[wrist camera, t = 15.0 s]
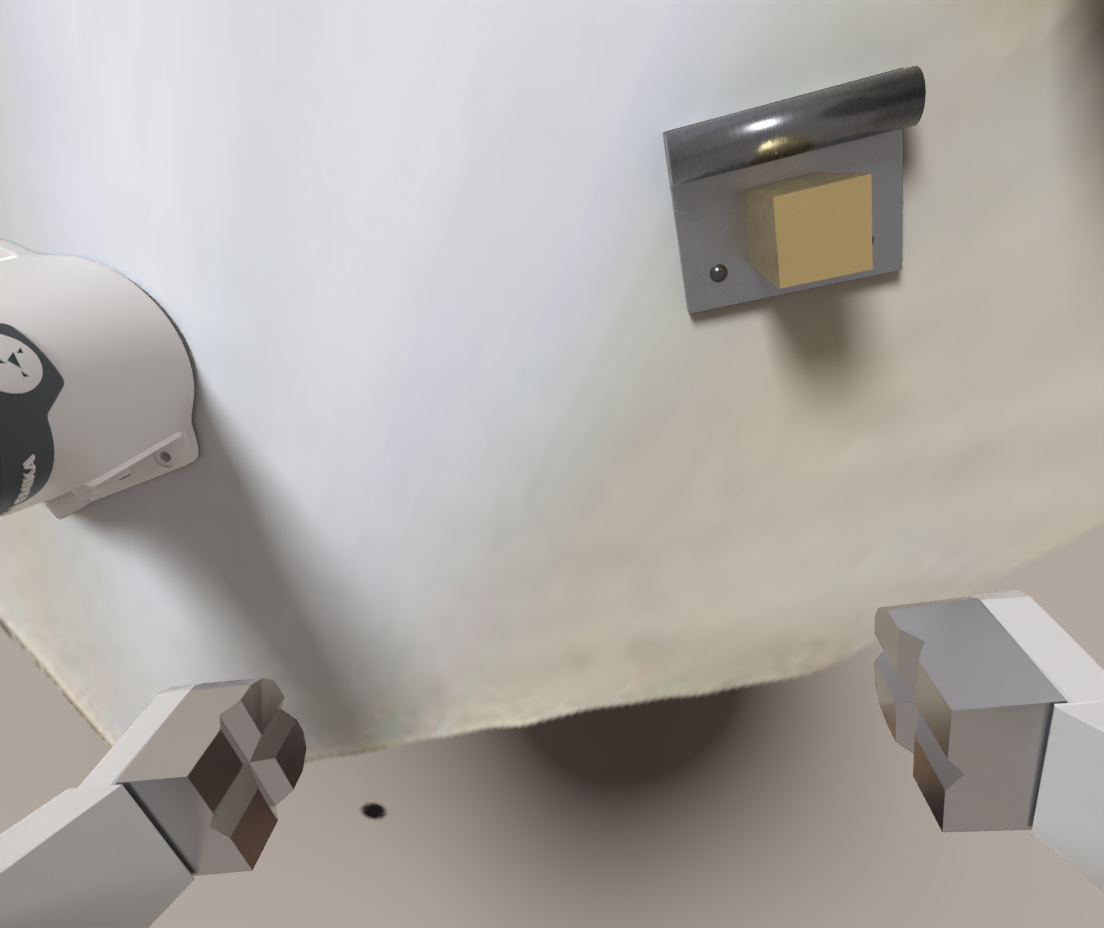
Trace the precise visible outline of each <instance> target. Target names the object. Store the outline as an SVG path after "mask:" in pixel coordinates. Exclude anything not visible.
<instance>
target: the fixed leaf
mask: <svg viewBox="0 0 1104 928" xmlns="http://www.w3.org/2000/svg"><path fill="white" fill-rule="evenodd" d="M925 94H926V89H925V80H924V76H923V73H922V70H921V69H920V68H919V67H918V66H912V67H909V68H905V69H903V68H900V69H896V70H892V71H889V72H885V73H881V74H878V75H874V76H870V77H866V78H863V79H859V80H855V81H852V82H848V83H844V84H841V85H837V86H833V87H829V88H826V89H822V90H818V91H815V92H811V93H807V94H803V95H800V96H796V97H792V98H789V99H785V100H781V101H777V102H774V103H770V104H766V105H763V106H759V107H755V108H751V109H748V110H744V111H740V112H737V113H733V114H729V115H725V116H722V117H718V118H714V119H711V120H707V121H703V122H699V123H696V124H692V125H688V126H685V127H681V128H677V129H673V130H670V131H666V132H663V139H664V146H665V153H666V160H667V167H668V174H669V182H670V189H671V196H672V203H673V210H674V217H675V224H676V231H677V239H678V246H679V253H680V260H681V267H682V274H683V281H684V288H685V296H686V303H687V310H688V313H689V314H690V313H695V312H700V311H705V310H710V309H714V308H719V307H724V306H729V305H734V304H739V303H743V302H748V301H753V300H758V299H763V298H767V297H772V296H777V295H782V294H787V293H792V292H796V291H801V290H806V289H811V288H816V287H821V286H825V285H830V284H835V283H840V282H845V281H850V280H854V279H859V278H864V277H869V276H874V275H879V274H883V273H888V272H893V271H898V270H902V198H903V128H907V127H911V126H914V125H916V124H917V123H918V122H919V120H920V119H921V116H922V113H923V110H924V105H925ZM817 172H832V173H870V174H871V181H872V256H873V269H872V270H867V271H862V272H857V273H853V274H848V275H843V276H838V277H833V278H829V279H824V280H819V281H814V282H810V283H805V284H800V285H795V286H791V287H786V288H781V289H780V288H779V287H778V286H776V285H775V284H774V283H773V282H771V281H770V280H769V279H768V278H766V277H765V276H764V275H763V274H761V273H760V272H759V271H758V270H756V269H755V268H754V267H753V266H751V265H750V264H749V255H748V245H747V234H746V224H745V213H744V203H743V192H742V191H743V190H747V189H751V188H755V187H759V186H763V185H767V184H772V183H776V182H780V181H784V180H788V179H792V178H796V177H800V176H804V175H809V174H813V173H817Z"/></svg>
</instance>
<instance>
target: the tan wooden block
mask: <svg viewBox="0 0 1104 928" xmlns="http://www.w3.org/2000/svg"><path fill="white" fill-rule="evenodd" d="M742 192H743V203H744V213H745V224H746V234H747V245H748V255H749V264H750V265H751V266H753V267H754V268H755V269H756V270H758V271H759V272H760V273H761V274H763V275H764V276H765V277H766V278H768V279H769V280H770V281H771V282H773V283H774V284H775V285H776V286H778V287H779V288H780V289H781V288H786V287H791V286H795V285H800V284H805V283H810V282H814V281H819V280H824V279H829V278H833V277H838V276H843V275H848V274H853V273H857V272H862V271H867V270H872V269H873V256H872V181H871V174H870V173H832V172H817V173H813V174H809V175H804V176H800V177H796V178H792V179H788V180H784V181H780V182H776V183H772V184H767V185H763V186H759V187H755V188H751V189H747V190H743V191H742Z"/></svg>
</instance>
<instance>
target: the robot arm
mask: <svg viewBox="0 0 1104 928" xmlns="http://www.w3.org/2000/svg"><path fill="white" fill-rule="evenodd" d="M193 402H194V379H193V372H192V368H191V364H190V361H189V358H188V355H187V352H186V349H185V347H184V345H183V343H182V341H181V339H180V337H179V335H178V333H177V332H176V330H175V328H174V327H173V325H172V324H171V322H170V321H169V319H168V318H167V317H166V315H165V314H164V313H163V311H162V310H161V309H160V308H159V307H158V306H157V304H156V303H155V302H154V301H153V300H152V299H151V298H150V297H149V296H148V295H147V294H146V293H144V292H143V291H142V290H141V289H140V288H139V287H137V286H136V285H135V284H134V283H132V282H131V281H130V280H128V279H127V278H125V277H124V276H122V275H120V274H119V273H117V272H115V271H114V270H112V269H110V268H108V267H106V266H103V265H101V264H99V263H96V262H93V261H90V260H87V259H83V258H79V257H73V256H62V255H40V254H35V253H33V252H31V251H29V250H26V249H24V248H22V247H19V246H17V245H15V244H12V243H10V242H6V241H3V240H0V516H6V515H9V514H12V513H15V512H17V511H20V510H23V509H25V508H28V507H30V506H33V505H36V504H39V505H41V506H43V507H46V508H48V509H49V510H50V511H51V512H52V513H53V514H54V515H55V516H56V518H59V519H62V518H64V517H67V516H69V515H71V514H73V513H74V512H76V511H78V510H80V509H82V508H83V507H85V506H86V505H88V504H89V503H91V502H93V501H95V500H98V499H100V498H103V497H106V496H108V495H111V494H113V493H116V492H119V491H121V490H124V489H126V488H129V487H132V486H134V485H137V484H139V483H142V482H145V481H147V480H150V479H152V478H155V477H158V476H160V475H163V474H165V473H168V472H171V471H173V470H176V469H178V468H181V467H183V466H186V465H188V464H190V463H192V462H194V461H195V460H196V459H197V458H198V455H199V448H198V443H197V439H196V435H195V432H194V429H193V426H192V409H193ZM167 453H168V454H169V455H170V456H168V454H167ZM874 634H875V635H876V637H877V639H878V641H879V642H880V644H881V646H882V648H883V649H884V651H883V652H882V653H881V654H880V656H879V657H878V658H877V659H876V660H875V661H874V668H875V685H876V689H877V694H878V699H879V703H880V707H881V709H882V712H883V715H884V717H885V720H886V722H887V725H888V727H889V729H890V731H891V733H892V735H893V737H894V739H895V741H896V742H897V743H899V744H900V745H901V746H903V747H904V748H906V749H907V750H909V751H910V752H912V753H913V754H914V766H913V769H914V770H913V776H914V778H915V780H916V782H917V784H918V786H919V788H920V790H921V792H922V794H923V796H924V798H925V800H926V801H927V803H928V805H929V807H930V809H931V811H932V813H933V815H934V817H935V819H936V820H937V823H938V825H939V826H940V828H941V830H942V832H967V831H999V830H1000V831H1001V830H1032V832H1031V834H1032V835H1033V836H1034V837H1035V838H1037V839H1038V840H1039V841H1040V842H1042V843H1043V844H1044V845H1046V846H1047V847H1048V848H1049V849H1051V850H1052V851H1053V852H1054V853H1056V854H1057V855H1058V856H1059V857H1061V858H1062V859H1063V860H1064V861H1065V862H1067V863H1068V864H1069V865H1071V866H1072V867H1073V868H1074V869H1076V870H1077V871H1078V872H1079V873H1081V874H1082V875H1083V876H1084V877H1086V878H1087V879H1088V880H1089V881H1091V882H1092V883H1093V884H1095V885H1096V886H1097V887H1098V888H1099V889H1101V890H1102V891H1103V892H1104V669H1103V668H1102V667H1101V666H1100V665H1099V664H1098V663H1097V662H1096V661H1095V660H1094V659H1093V658H1092V657H1091V656H1090V655H1089V654H1088V653H1087V652H1086V651H1085V650H1084V649H1083V648H1082V647H1081V646H1079V644H1078V643H1077V642H1076V641H1075V640H1073V638H1071V637H1070V636H1069V635H1068V634H1067V633H1066V632H1065V631H1064V630H1063V629H1062V628H1061V627H1060V626H1059V625H1058V624H1057V623H1056V622H1055V621H1054V620H1053V619H1052V618H1051V617H1050V616H1049V615H1048V614H1047V613H1046V612H1045V611H1044V610H1043V609H1042V608H1041V607H1040V606H1039V605H1038V604H1037V603H1036V602H1035V601H1034V600H1033V599H1032V598H1031V597H1030V596H1029V595H1028V594H1025V593H1023V592H1021V591H1019V590H1011V591H1003V592H996V593H988V594H980V595H973V596H969V597H968V598H965V597H962V598H954V599H946V600H938V601H930V602H921V603H913V604H905V605H897V606H888V607H880V608H878V610H877V612H876V615H875V632H874ZM283 700H284V696H283V694H282V693H281V691H280V689H279V688H278V686H277V685H276V683H275V681H274V680H269V679H263V678H259V679H248V680H236V681H225V682H213V683H203V684H201V685H188V686H175V687H172V688H169V689H167V690H165V691H163V692H161V693H159V694H158V695H157V697H156V698H155V699H154V700H153V701H152V702H151V704H150V705H149V706H148V707H147V708H146V709H145V710H144V712H143V713H142V714H141V715H140V716H139V717H138V719H137V720H136V721H135V722H134V723H133V724H132V725H131V727H130V728H129V729H128V730H127V731H126V732H125V734H124V735H123V736H122V737H121V738H120V739H119V740H118V742H117V743H116V744H115V745H114V746H113V747H112V749H111V750H110V751H109V752H108V753H107V754H106V755H105V757H104V758H103V759H102V760H101V761H100V762H99V764H98V765H97V766H96V767H95V768H94V769H93V771H92V772H91V773H90V774H89V775H88V776H87V777H86V779H85V780H84V781H83V782H82V783H81V784H80V785H79V787H78V788H72V789H67V790H65V791H64V792H62V793H61V794H59V795H58V796H56V797H55V798H53V799H52V800H51V801H49V802H47V803H46V804H45V805H43V806H42V807H40V808H39V809H37V810H36V811H34V812H33V813H31V814H30V815H28V816H27V817H26V818H24V819H23V820H21V821H19V822H18V823H16V824H15V825H13V826H12V827H11V828H9V829H8V830H6V831H5V832H3V833H2V834H0V928H149V927H150V925H151V924H152V923H153V922H154V921H155V920H156V919H157V918H158V917H159V916H160V915H161V914H162V913H163V912H164V911H165V910H166V909H167V908H168V907H169V906H170V904H172V903H173V901H174V900H175V899H176V898H177V897H178V896H179V895H180V894H181V893H182V892H183V891H184V890H185V889H186V888H187V887H188V886H189V885H190V884H191V883H192V882H193V881H194V877H193V876H197V875H207V874H218V873H229V872H240V871H251V870H253V868H254V866H255V864H256V862H257V860H258V858H259V857H260V855H261V852H262V851H263V849H264V847H265V845H266V843H267V841H268V839H269V837H270V835H271V833H272V831H273V829H274V827H275V825H276V823H277V821H278V818H277V811H276V805H277V804H278V803H279V802H280V801H281V800H282V799H284V798H285V797H286V796H287V795H288V794H289V793H290V792H291V791H292V790H293V789H294V787H295V785H296V783H297V781H298V779H299V777H300V775H301V773H302V771H303V766H304V759H305V753H306V744H305V739H304V733H303V731H302V729H301V727H300V725H299V723H298V721H297V719H295V718H293V717H292V716H290V715H289V714H287V713H286V712H284V711H283V710H281V707H282V704H283Z"/></svg>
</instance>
